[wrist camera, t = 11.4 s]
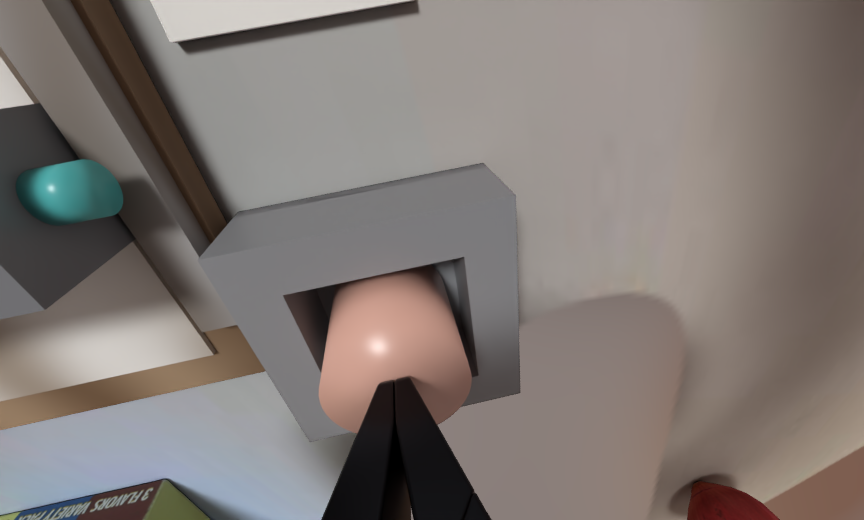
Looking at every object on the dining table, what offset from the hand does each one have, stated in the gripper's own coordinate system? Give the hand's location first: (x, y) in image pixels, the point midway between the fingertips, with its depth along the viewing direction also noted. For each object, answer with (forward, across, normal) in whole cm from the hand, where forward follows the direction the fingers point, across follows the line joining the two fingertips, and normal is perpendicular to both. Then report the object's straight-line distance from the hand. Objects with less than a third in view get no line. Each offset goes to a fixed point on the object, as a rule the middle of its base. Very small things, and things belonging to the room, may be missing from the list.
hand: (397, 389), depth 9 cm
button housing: (+5, 0, 0) cm, 5 cm away
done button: (+4, 0, 0) cm, 4 cm away
